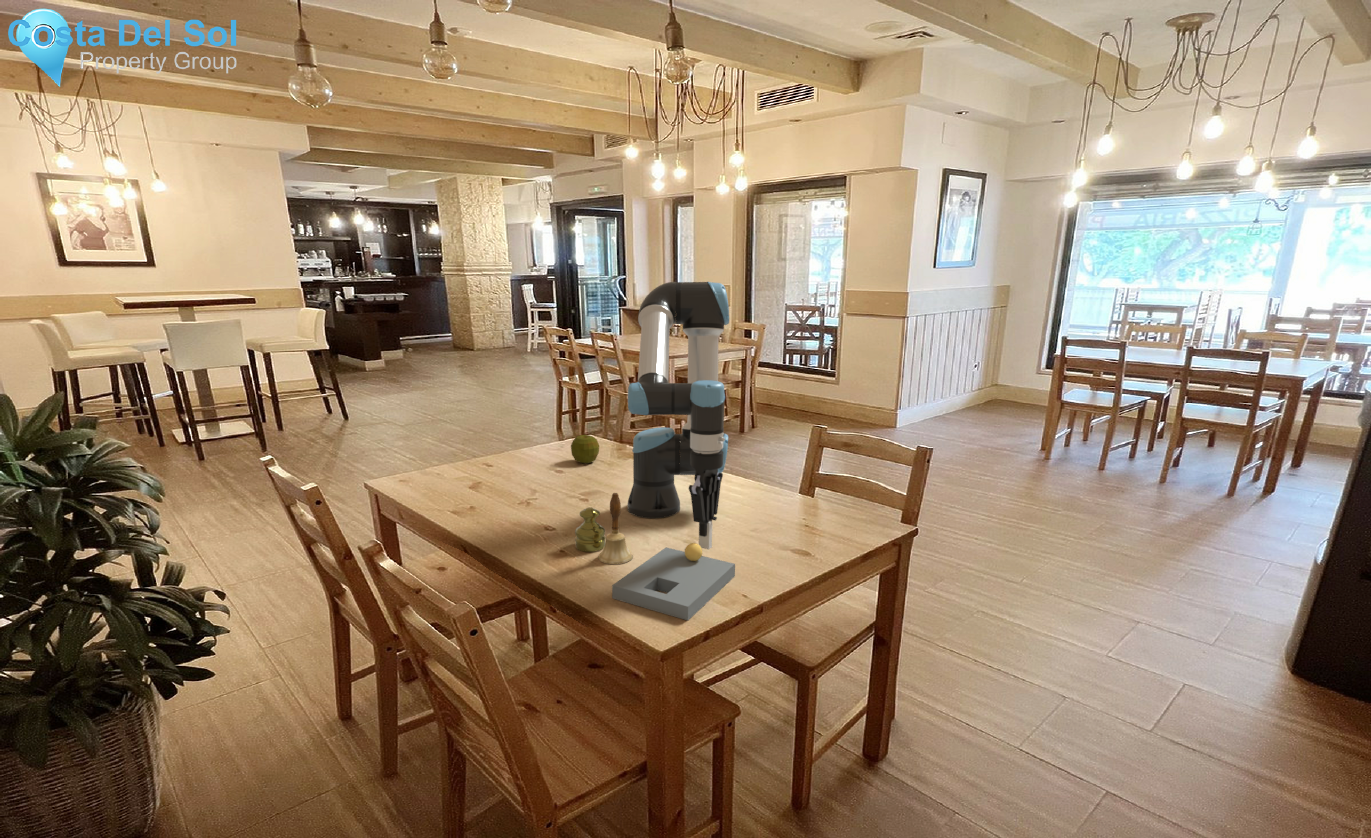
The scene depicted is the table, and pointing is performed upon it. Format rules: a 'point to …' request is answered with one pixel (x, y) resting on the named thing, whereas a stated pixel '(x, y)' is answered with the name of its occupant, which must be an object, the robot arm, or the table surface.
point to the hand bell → (615, 538)
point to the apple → (585, 448)
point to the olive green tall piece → (590, 532)
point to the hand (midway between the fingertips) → (705, 547)
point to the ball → (693, 552)
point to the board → (674, 583)
